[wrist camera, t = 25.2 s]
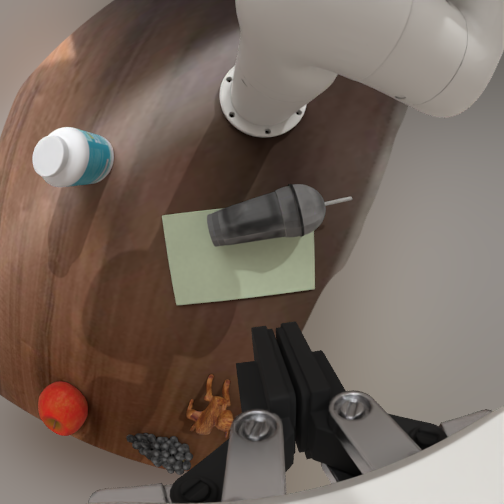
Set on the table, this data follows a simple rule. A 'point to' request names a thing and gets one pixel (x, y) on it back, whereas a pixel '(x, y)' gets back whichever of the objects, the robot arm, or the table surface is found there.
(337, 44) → the robot arm
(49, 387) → the apple
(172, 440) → the fruit
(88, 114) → the table surface
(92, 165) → the pill bottle
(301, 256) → the mat
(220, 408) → the cat figurine
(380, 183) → the table surface
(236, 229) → the beverage cup
